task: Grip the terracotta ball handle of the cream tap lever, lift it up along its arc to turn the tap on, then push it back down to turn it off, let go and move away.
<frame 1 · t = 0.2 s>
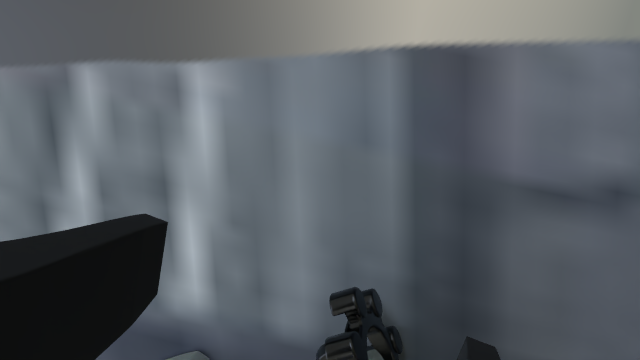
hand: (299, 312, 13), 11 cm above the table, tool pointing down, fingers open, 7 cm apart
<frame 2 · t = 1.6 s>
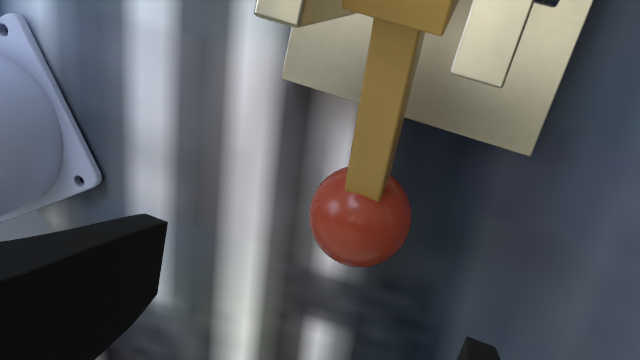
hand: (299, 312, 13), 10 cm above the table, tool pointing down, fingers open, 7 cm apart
lever: (382, 108, 15), point 6 cm above the table, hinge at -25.0°
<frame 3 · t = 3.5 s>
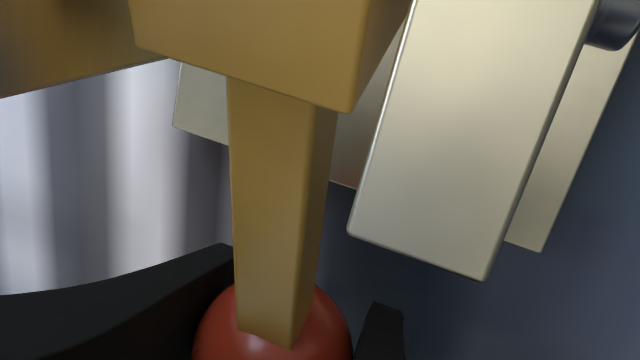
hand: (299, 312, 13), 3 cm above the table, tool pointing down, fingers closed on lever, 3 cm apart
lever: (279, 213, 8), point 6 cm above the table, hinge at -25.0°, touching gripper
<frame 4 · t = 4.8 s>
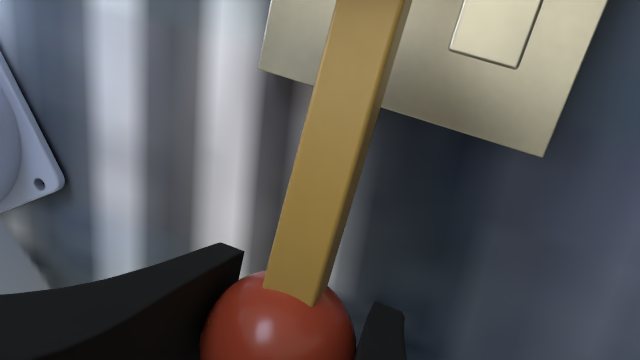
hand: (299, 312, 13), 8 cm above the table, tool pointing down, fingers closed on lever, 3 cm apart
lever: (334, 147, 11), point 8 cm above the table, hinge at 5.2°, touching gripper
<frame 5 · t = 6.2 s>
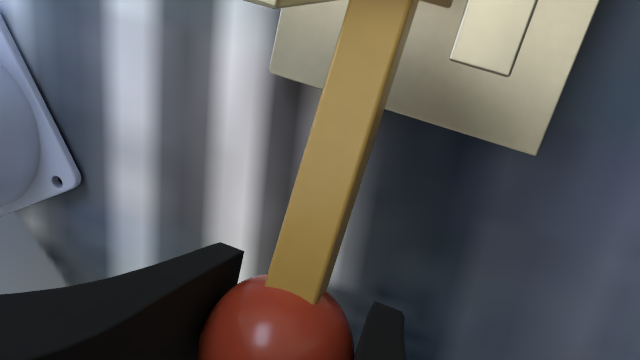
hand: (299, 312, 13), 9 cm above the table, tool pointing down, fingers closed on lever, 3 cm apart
lever: (339, 148, 11), point 9 cm above the table, hinge at 12.4°, touching gripper
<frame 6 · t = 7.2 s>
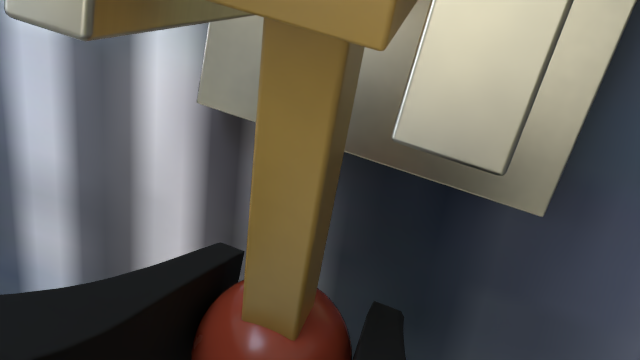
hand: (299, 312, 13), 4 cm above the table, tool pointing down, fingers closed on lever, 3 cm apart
lever: (294, 190, 9), point 7 cm above the table, hinge at -17.3°, touching gripper
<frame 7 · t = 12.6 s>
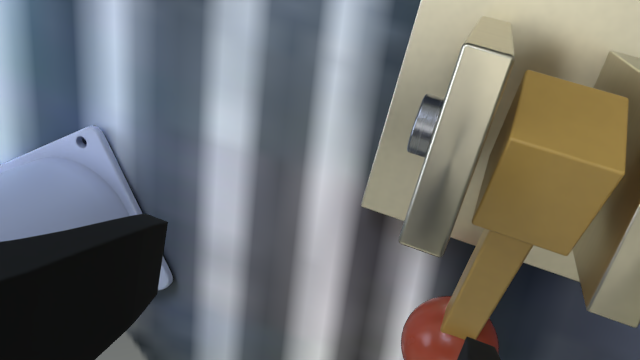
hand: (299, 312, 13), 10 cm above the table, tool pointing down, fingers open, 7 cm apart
lever: (486, 274, 16), point 6 cm above the table, hinge at -27.1°
tap bracket: (532, 96, 20), on the table
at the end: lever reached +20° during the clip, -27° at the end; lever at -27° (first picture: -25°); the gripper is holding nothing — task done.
